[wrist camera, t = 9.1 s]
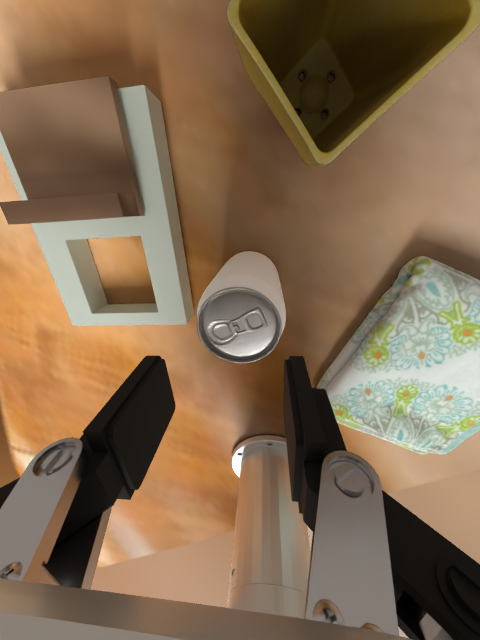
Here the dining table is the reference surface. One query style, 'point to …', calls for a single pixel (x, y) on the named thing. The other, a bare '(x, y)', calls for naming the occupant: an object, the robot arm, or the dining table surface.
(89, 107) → the lid
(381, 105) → the flower pot
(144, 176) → the well board
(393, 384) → the towel
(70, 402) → the dining table surface
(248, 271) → the can
